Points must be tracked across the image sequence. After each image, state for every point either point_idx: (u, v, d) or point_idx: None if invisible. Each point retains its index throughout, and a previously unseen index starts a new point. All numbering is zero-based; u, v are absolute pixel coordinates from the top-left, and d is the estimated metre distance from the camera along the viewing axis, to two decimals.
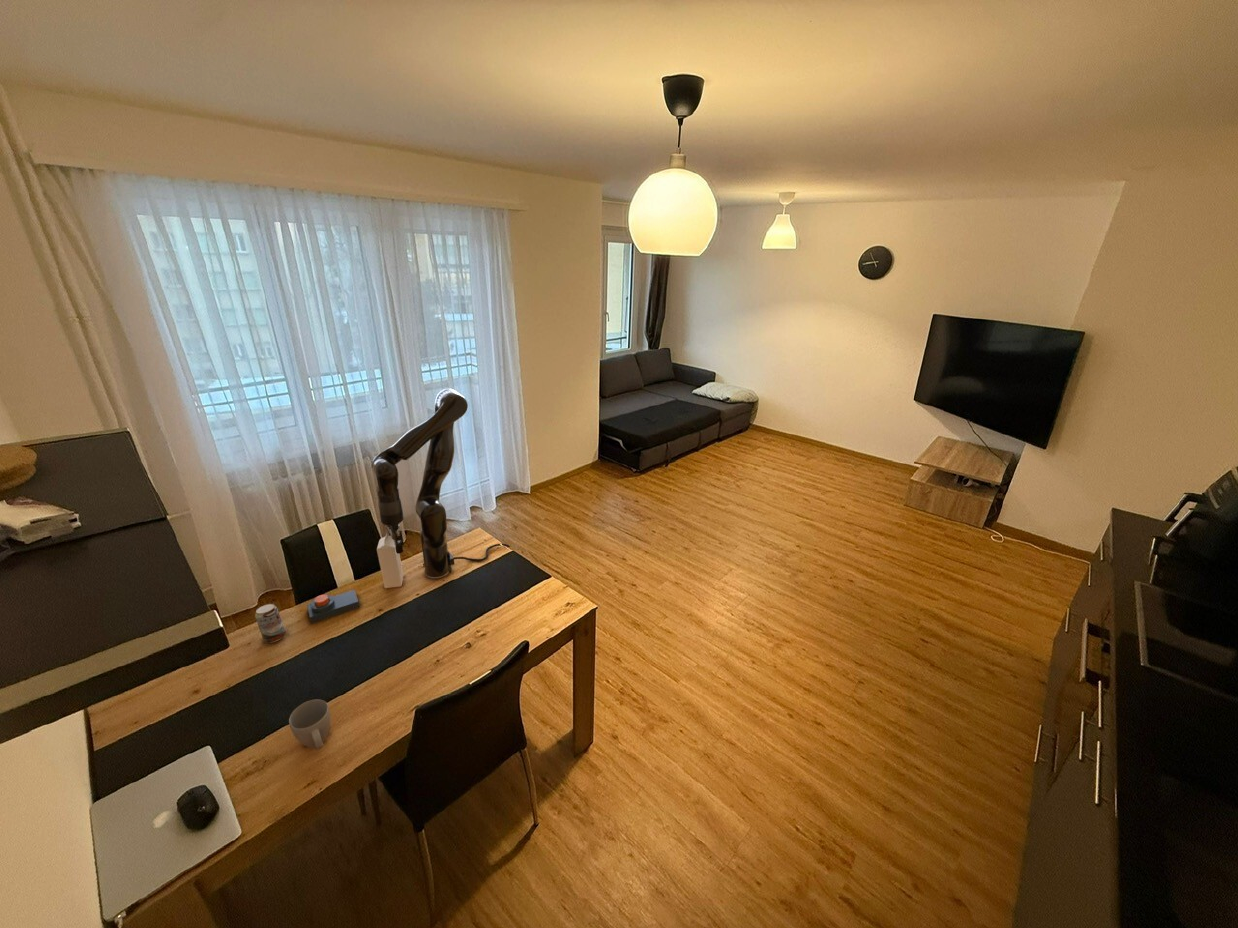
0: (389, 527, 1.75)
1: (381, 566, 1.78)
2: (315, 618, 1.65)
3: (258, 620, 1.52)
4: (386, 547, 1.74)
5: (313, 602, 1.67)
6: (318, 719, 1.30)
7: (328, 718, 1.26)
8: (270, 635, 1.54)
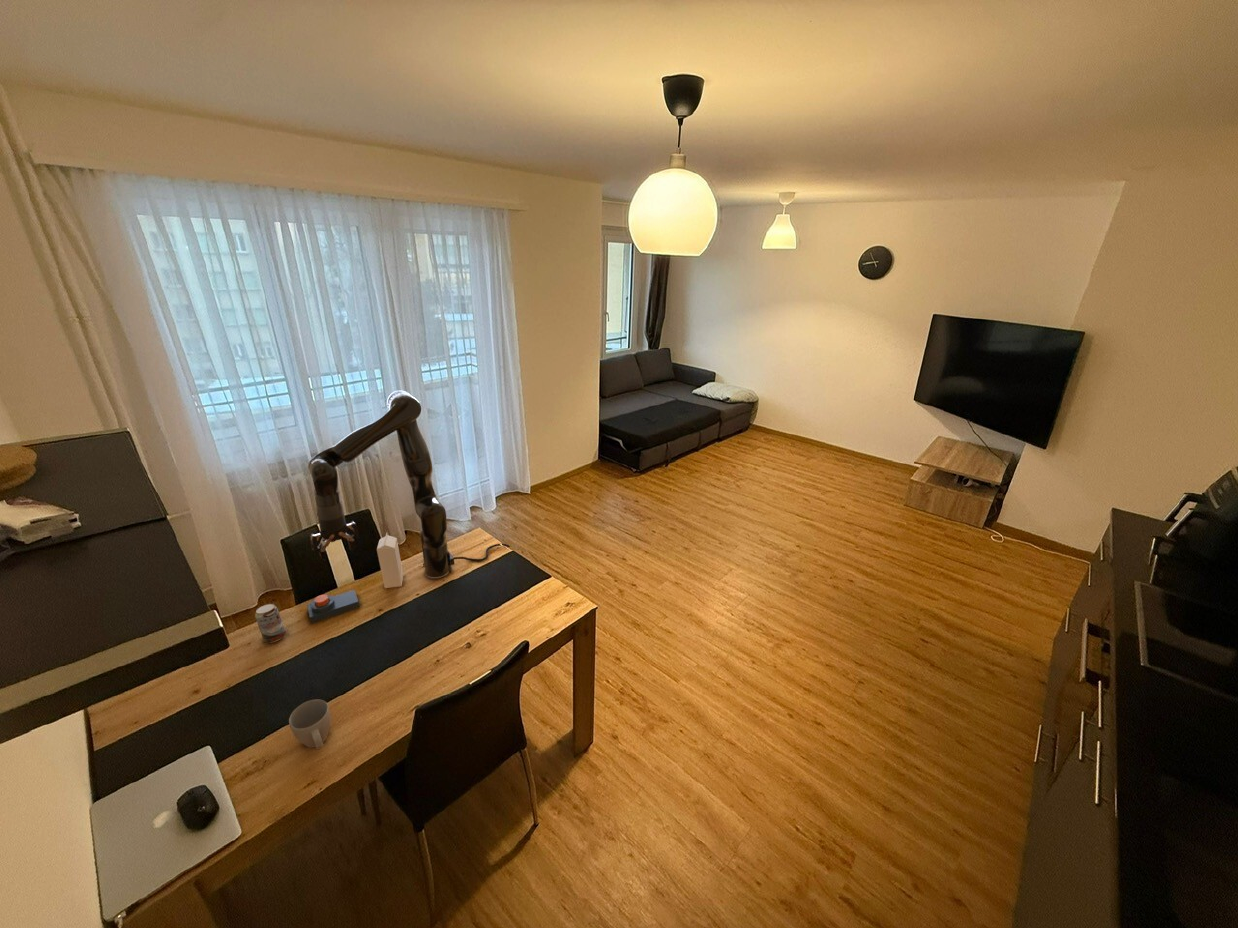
0: None
1: (381, 566, 1.78)
2: (315, 618, 1.65)
3: (258, 620, 1.52)
4: (386, 547, 1.74)
5: (313, 602, 1.67)
6: (318, 719, 1.30)
7: (328, 718, 1.26)
8: (270, 635, 1.54)
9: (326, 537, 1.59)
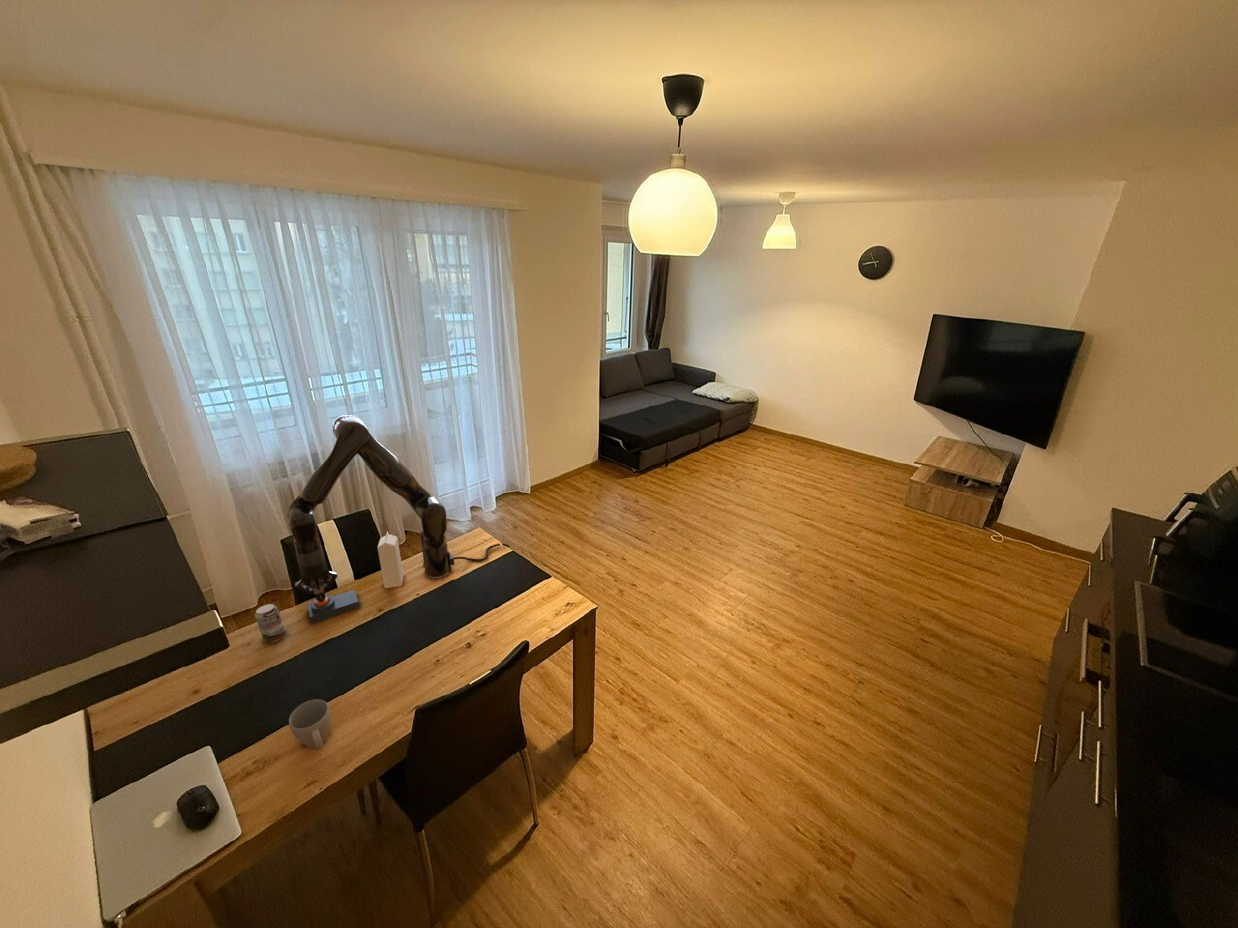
0: None
1: (381, 565, 1.78)
2: (315, 618, 1.65)
3: (258, 620, 1.52)
4: (387, 545, 1.76)
5: (313, 602, 1.67)
6: (318, 719, 1.30)
7: (328, 718, 1.26)
8: (270, 635, 1.54)
9: (306, 582, 1.61)
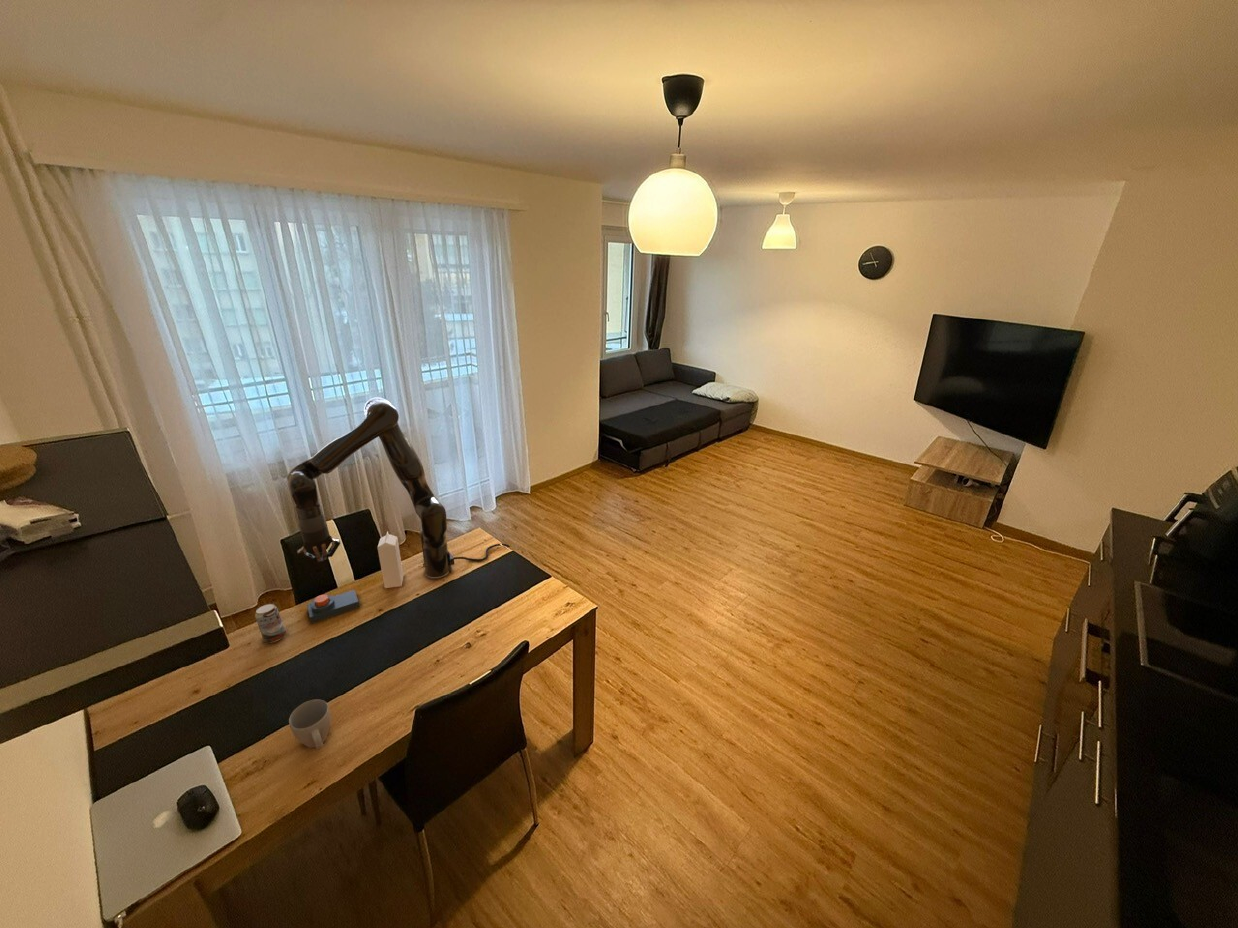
0: None
1: (381, 565, 1.78)
2: (315, 618, 1.65)
3: (258, 620, 1.52)
4: (387, 545, 1.76)
5: (313, 602, 1.67)
6: (318, 719, 1.30)
7: (328, 718, 1.26)
8: (270, 635, 1.54)
9: (309, 548, 1.58)
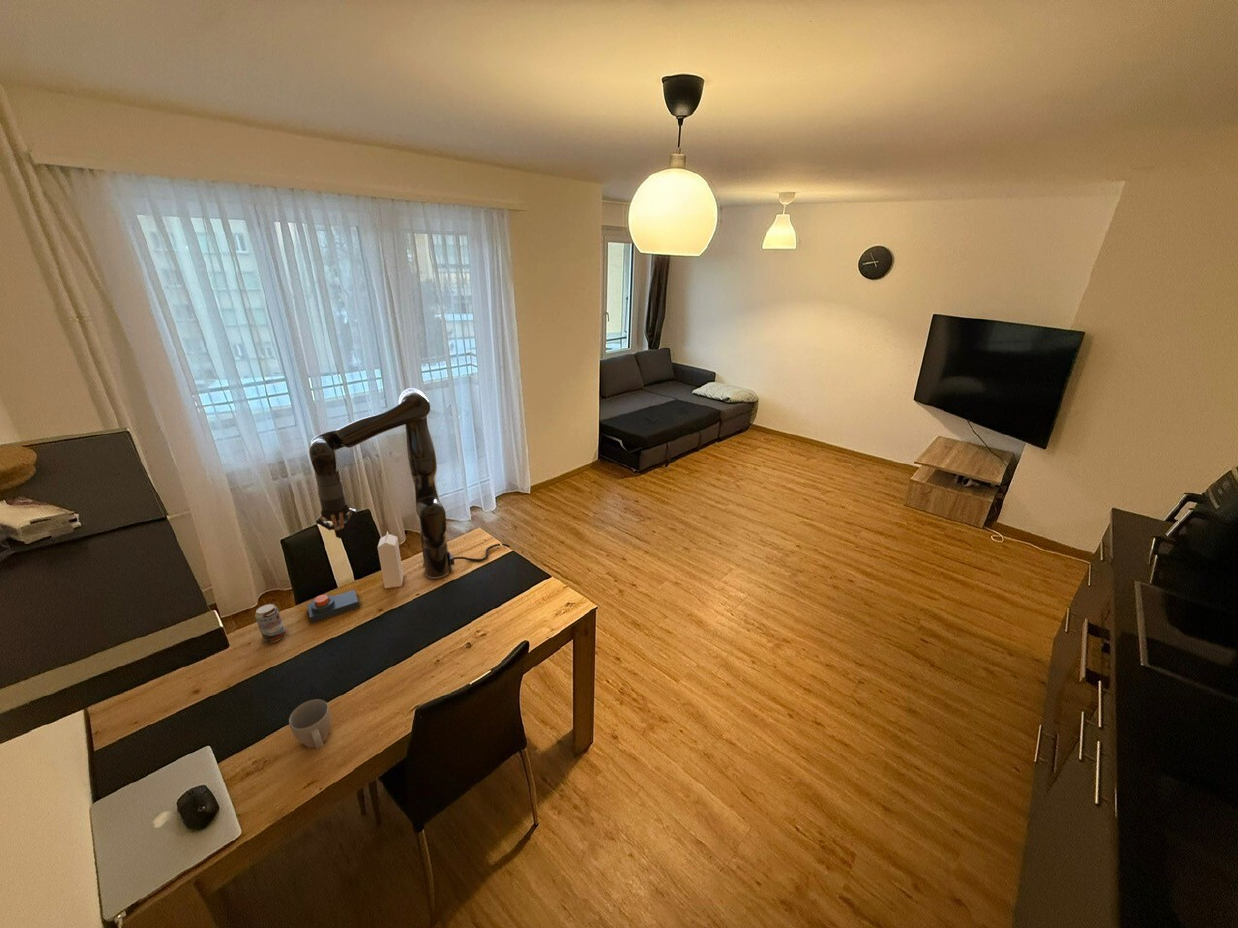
0: None
1: (381, 565, 1.78)
2: (315, 618, 1.65)
3: (258, 620, 1.52)
4: (387, 545, 1.76)
5: (313, 602, 1.67)
6: (318, 719, 1.30)
7: (328, 718, 1.26)
8: (270, 635, 1.54)
9: (327, 516, 1.62)
